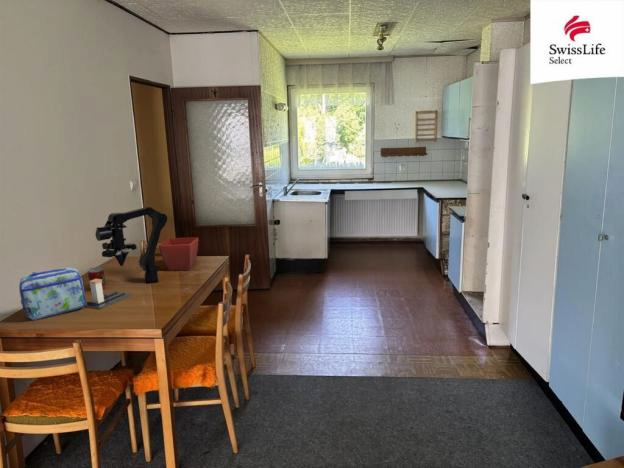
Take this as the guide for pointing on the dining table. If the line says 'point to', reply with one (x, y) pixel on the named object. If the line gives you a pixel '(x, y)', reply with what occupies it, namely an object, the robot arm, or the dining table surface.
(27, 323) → the dining table surface
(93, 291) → the fader knob
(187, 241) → the plant pot
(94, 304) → the plate
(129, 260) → the dining table surface
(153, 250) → the robot arm
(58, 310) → the lunch box
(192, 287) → the dining table surface
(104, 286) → the canned food
